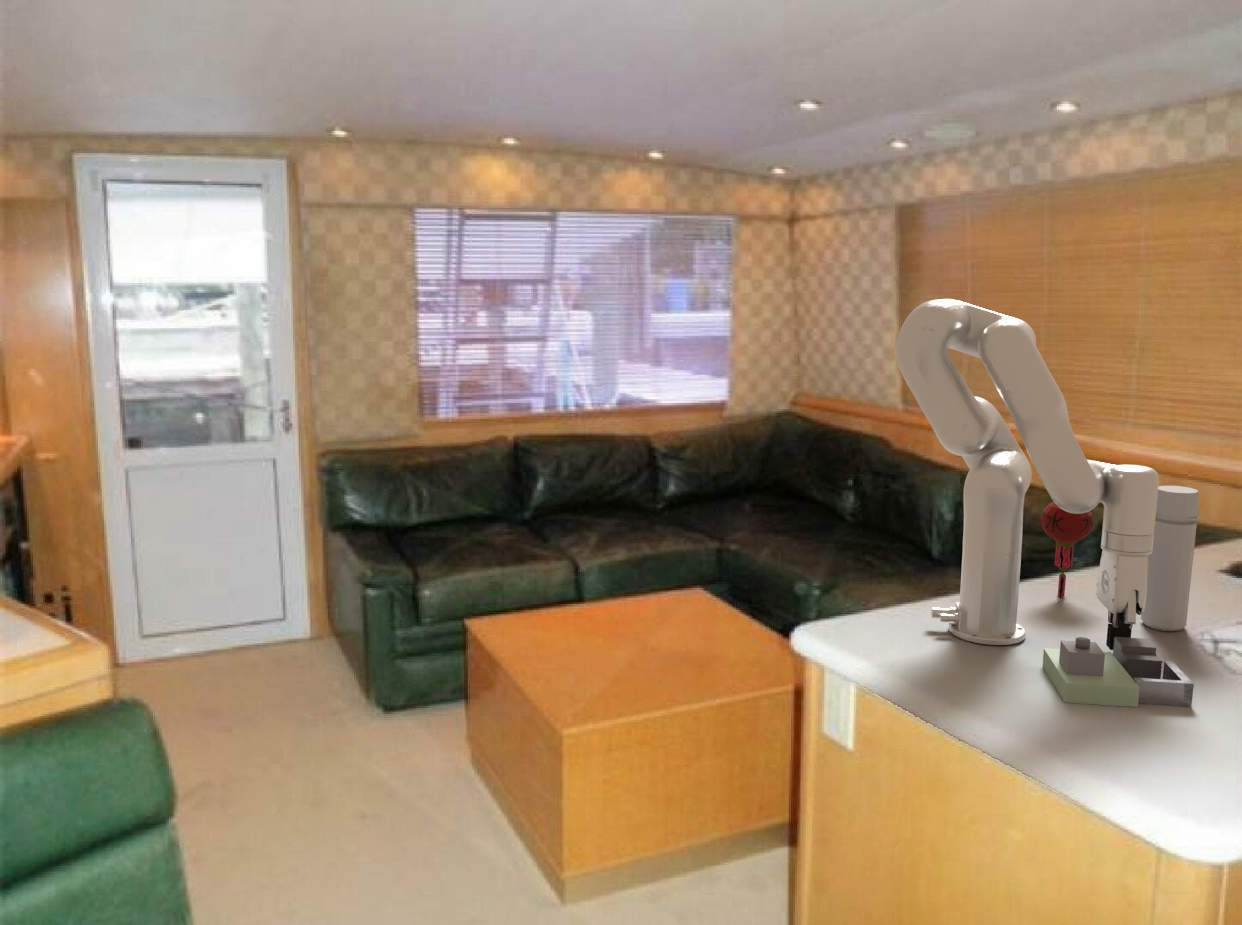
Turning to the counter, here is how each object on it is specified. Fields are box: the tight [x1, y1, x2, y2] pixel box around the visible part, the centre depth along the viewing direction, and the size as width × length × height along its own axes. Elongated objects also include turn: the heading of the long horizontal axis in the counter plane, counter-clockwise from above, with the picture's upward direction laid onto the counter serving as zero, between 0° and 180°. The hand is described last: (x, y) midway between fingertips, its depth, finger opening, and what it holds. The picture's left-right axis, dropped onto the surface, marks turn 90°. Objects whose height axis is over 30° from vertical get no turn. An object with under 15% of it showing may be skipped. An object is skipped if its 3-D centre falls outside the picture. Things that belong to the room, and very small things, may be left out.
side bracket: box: [1134, 660, 1195, 707], centre depth 148 cm, size 8×8×4 cm
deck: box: [1042, 636, 1140, 708], centre depth 151 cm, size 10×14×8 cm
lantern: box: [1040, 501, 1094, 598], centre depth 191 cm, size 10×10×30 cm
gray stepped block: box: [1112, 637, 1163, 680], centre depth 155 cm, size 5×7×5 cm
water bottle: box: [1140, 485, 1200, 632], centre depth 175 cm, size 9×8×25 cm
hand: (1117, 648), depth 164 cm, fingers closed
